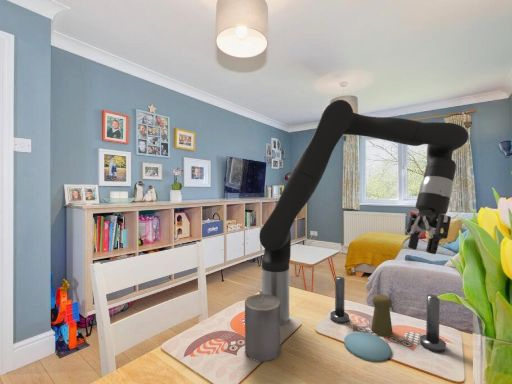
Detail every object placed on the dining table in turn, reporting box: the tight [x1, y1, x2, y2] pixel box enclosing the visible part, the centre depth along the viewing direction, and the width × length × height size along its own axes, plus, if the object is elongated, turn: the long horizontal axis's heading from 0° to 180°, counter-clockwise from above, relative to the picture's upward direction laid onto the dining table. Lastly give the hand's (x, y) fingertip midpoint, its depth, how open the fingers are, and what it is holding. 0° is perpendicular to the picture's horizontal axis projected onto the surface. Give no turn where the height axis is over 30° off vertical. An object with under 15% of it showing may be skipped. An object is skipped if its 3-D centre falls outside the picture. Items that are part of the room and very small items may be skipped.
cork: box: [370, 294, 394, 338], centre depth 81 cm, size 6×6×11 cm
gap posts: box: [330, 276, 447, 354], centre depth 81 cm, size 32×6×14 cm, turn 55°
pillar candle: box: [244, 294, 281, 363], centre depth 71 cm, size 10×10×15 cm
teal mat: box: [343, 331, 392, 362], centre depth 73 cm, size 12×12×1 cm
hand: (420, 250), depth 73 cm, fingers open, 8 cm apart
